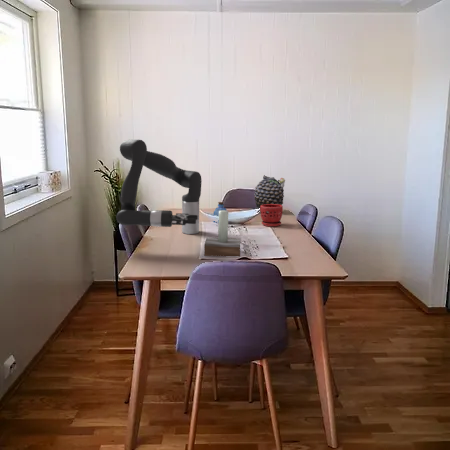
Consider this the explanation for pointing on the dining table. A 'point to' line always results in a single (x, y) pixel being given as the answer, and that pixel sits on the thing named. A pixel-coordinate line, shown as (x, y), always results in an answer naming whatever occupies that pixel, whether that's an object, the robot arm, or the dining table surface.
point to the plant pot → (271, 214)
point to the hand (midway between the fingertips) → (196, 219)
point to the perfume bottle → (220, 207)
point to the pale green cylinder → (223, 226)
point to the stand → (222, 247)
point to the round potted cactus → (269, 192)
